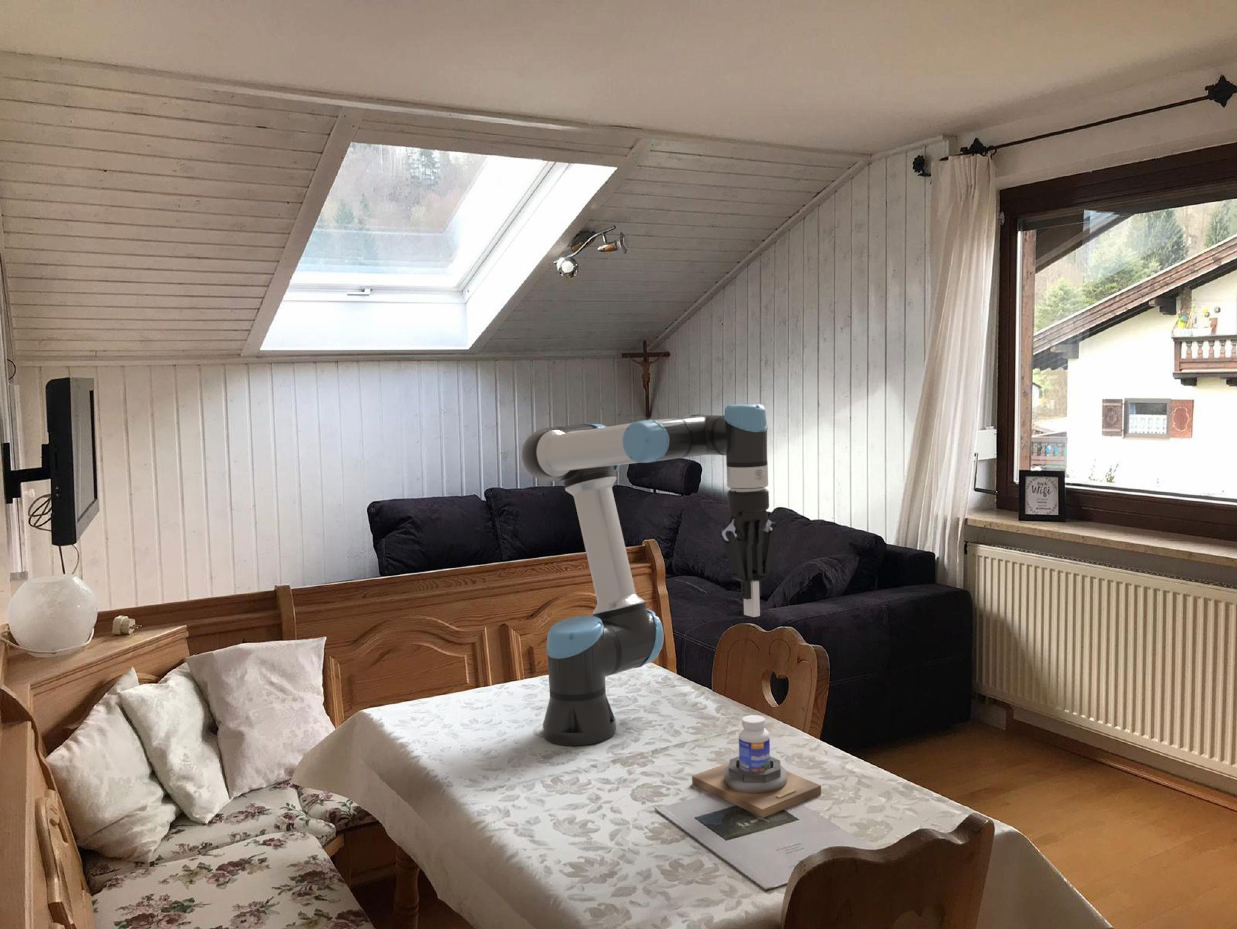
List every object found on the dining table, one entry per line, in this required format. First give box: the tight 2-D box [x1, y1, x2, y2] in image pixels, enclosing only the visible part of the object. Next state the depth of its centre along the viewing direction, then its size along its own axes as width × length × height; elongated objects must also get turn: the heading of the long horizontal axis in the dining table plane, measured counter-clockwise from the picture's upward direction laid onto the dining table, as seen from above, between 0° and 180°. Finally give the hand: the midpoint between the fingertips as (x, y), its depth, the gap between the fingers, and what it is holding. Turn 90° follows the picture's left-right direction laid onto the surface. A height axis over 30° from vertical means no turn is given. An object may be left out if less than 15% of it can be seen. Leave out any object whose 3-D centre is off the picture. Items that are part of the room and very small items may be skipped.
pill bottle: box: [738, 714, 771, 772], centre depth 174 cm, size 5×5×10 cm
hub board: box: [691, 755, 822, 819], centre depth 174 cm, size 18×14×4 cm
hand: (752, 615), depth 183 cm, fingers closed
